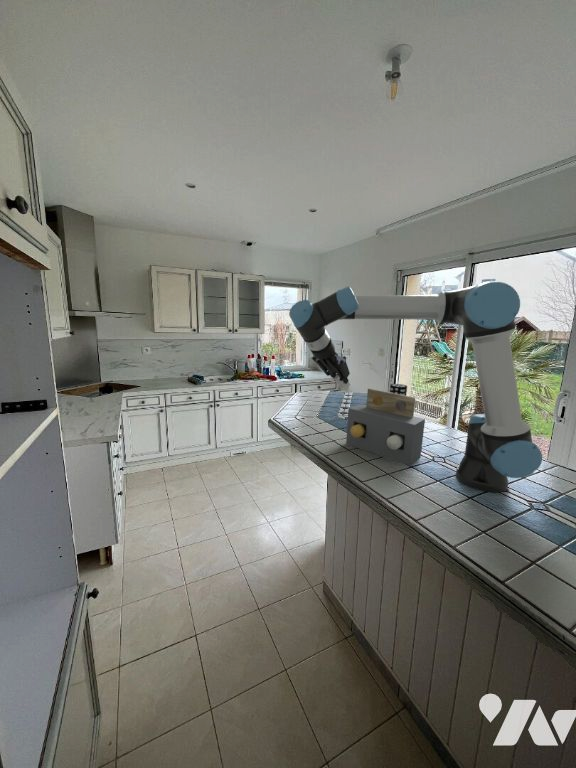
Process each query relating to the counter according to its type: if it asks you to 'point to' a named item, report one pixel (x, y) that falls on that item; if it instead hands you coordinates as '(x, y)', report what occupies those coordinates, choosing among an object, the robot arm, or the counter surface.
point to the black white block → (398, 389)
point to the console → (386, 433)
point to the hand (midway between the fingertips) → (345, 386)
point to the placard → (391, 402)
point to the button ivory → (395, 441)
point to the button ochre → (358, 430)
